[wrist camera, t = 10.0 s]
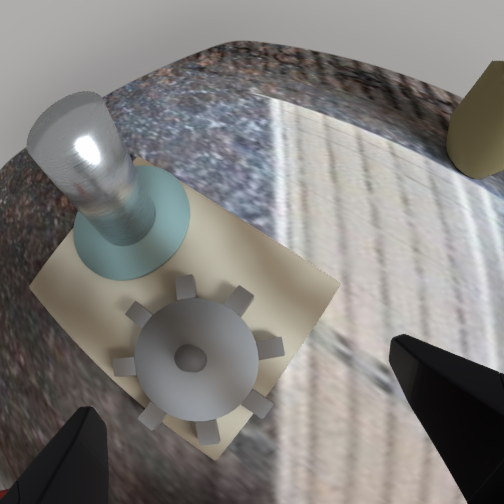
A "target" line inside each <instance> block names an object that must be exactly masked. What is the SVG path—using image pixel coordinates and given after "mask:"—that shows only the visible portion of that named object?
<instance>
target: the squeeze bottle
mask: <svg viewBox="0 0 504 504" xmlns="http://www.w3.org/2000/svg"><path fill="white" fill-rule="evenodd" d="M446 151H447V153H448V155H449V157H450V159H451V161H452V162H453V163H454V165H455V166H456V167H457V168H458V169H459V170H460V171H461V172H463V173H464V174H465V175H467V176H469V177H471V178H473V179H483V178H485V177H488V176H490V175H492V174H495V173H497V172H500V171H502V170H504V61H492V62H491V63H490V65H489V66H488V67H487V69H486V70H485V71H484V73H483V74H482V75H481V77H480V78H479V79H478V81H477V82H476V83H475V85H474V86H473V88H472V89H471V90H470V91H469V92H468V94H467V95H466V96H465V98H464V99H463V100H462V101H461V103H460V104H459V105H458V107H457V108H456V109H455V110H454V112H453V114H452V115H451V117H450V123H449V129H448V134H447V140H446Z"/></svg>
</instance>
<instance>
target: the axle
mask: <svg viewBox="0 0 504 504" xmlns="http://www.w3.org/2000/svg"><path fill="white" fill-rule="evenodd" d="M27 150H28V152H29V154H30V155H31V157H32V158H33V159H34V160H35V161H36V163H37V164H38V165H39V166H40V167H41V169H42V170H43V171H44V172H45V173H46V175H47V176H48V177H49V178H50V179H51V180H52V182H53V183H54V184H55V185H56V186H57V187H58V188H59V190H60V191H61V192H62V193H63V194H64V195H65V196H66V197H67V199H68V200H69V201H70V202H71V203H72V204H73V205H74V206H75V207H76V209H77V210H78V211H79V212H80V213H81V214H82V215H83V216H84V217H85V218H86V219H87V220H88V222H89V223H90V224H91V225H92V226H93V227H94V228H95V229H96V230H97V231H98V232H99V233H100V234H101V235H102V236H103V237H104V238H105V239H106V240H107V241H108V242H109V243H111V244H113V245H115V246H121V247H122V246H130V245H133V244H135V243H137V242H139V241H141V240H142V239H143V238H144V237H146V236H147V234H148V233H149V232H150V231H151V229H152V227H153V225H154V223H155V219H156V207H155V204H154V202H153V200H152V199H151V197H150V195H149V193H148V191H147V189H146V187H145V185H144V183H143V181H142V179H141V177H140V175H139V173H138V171H137V170H136V168H135V166H134V164H133V162H132V160H131V158H130V156H129V154H128V152H127V149H126V147H125V145H124V143H123V141H122V139H121V137H120V135H119V133H118V131H117V129H116V127H115V125H114V123H113V120H112V118H111V116H110V114H109V112H108V110H107V108H106V105H105V103H104V101H103V99H102V97H101V96H100V95H98V94H97V93H94V92H88V91H87V92H79V93H75V94H72V95H69V96H67V97H65V98H62V99H61V100H59V101H57V102H56V103H54V104H53V105H52V106H50V107H49V108H48V109H47V110H46V111H45V112H44V113H43V114H42V115H41V116H40V117H39V118H38V119H37V121H36V122H35V124H34V125H33V127H32V128H31V130H30V133H29V135H28V139H27Z"/></svg>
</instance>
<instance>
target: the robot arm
mask: <svg viewBox="0 0 504 504" xmlns="http://www.w3.org/2000/svg"><path fill="white" fill-rule="evenodd" d="M389 362H390V365H391V367H392V369H393V371H394V373H395V375H396V378H397V380H398V382H399V384H400V386H401V388H402V390H403V392H404V394H405V397H406V399H407V401H408V403H409V404H410V406H411V408H412V410H413V411H414V413H415V414H416V416H417V418H418V419H419V421H420V422H421V424H422V426H423V427H424V429H425V431H426V432H427V434H428V436H429V437H430V439H431V441H432V442H433V444H434V446H435V447H436V449H437V451H438V452H439V454H440V456H441V457H442V459H443V461H444V463H445V464H446V466H447V468H448V469H449V471H450V473H451V475H452V476H453V478H454V480H455V482H456V483H457V485H458V487H459V489H460V491H461V492H462V494H463V496H464V498H465V500H466V501H467V504H504V374H503V373H499V372H498V371H495V370H493V369H490V368H488V367H485V366H483V365H480V364H478V363H475V362H473V361H470V360H468V359H465V358H463V357H460V356H458V355H455V354H453V353H450V352H448V351H445V350H443V349H441V348H438V347H436V346H433V345H431V344H428V343H426V342H423V341H421V340H419V339H416V338H414V337H411V336H409V335H406V334H401V335H398V336H396V337H393V338H392V340H391V344H390V353H389ZM108 479H109V467H108V450H107V429H106V425H105V423H104V421H103V420H102V418H101V417H100V416H99V414H98V413H97V412H96V410H95V409H94V408H93V407H91V406H86V407H80V408H79V409H78V410H77V411H76V412H75V413H74V414H73V415H72V416H71V418H70V419H69V420H68V421H67V422H66V423H65V424H64V426H63V427H62V428H61V429H60V430H59V431H58V433H57V434H56V435H55V436H54V437H53V438H52V439H51V441H50V442H49V443H48V444H47V445H46V446H45V448H44V449H43V450H42V451H41V452H40V453H39V455H38V456H37V457H36V458H35V459H34V460H33V462H32V463H31V464H30V465H29V466H28V468H27V469H26V470H25V471H24V472H23V473H22V475H21V476H20V477H19V478H18V481H16V482H15V483H14V484H13V485H12V487H11V488H10V489H9V490H8V491H7V492H6V493H5V495H4V496H3V497H2V498H1V499H0V504H108Z"/></svg>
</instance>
